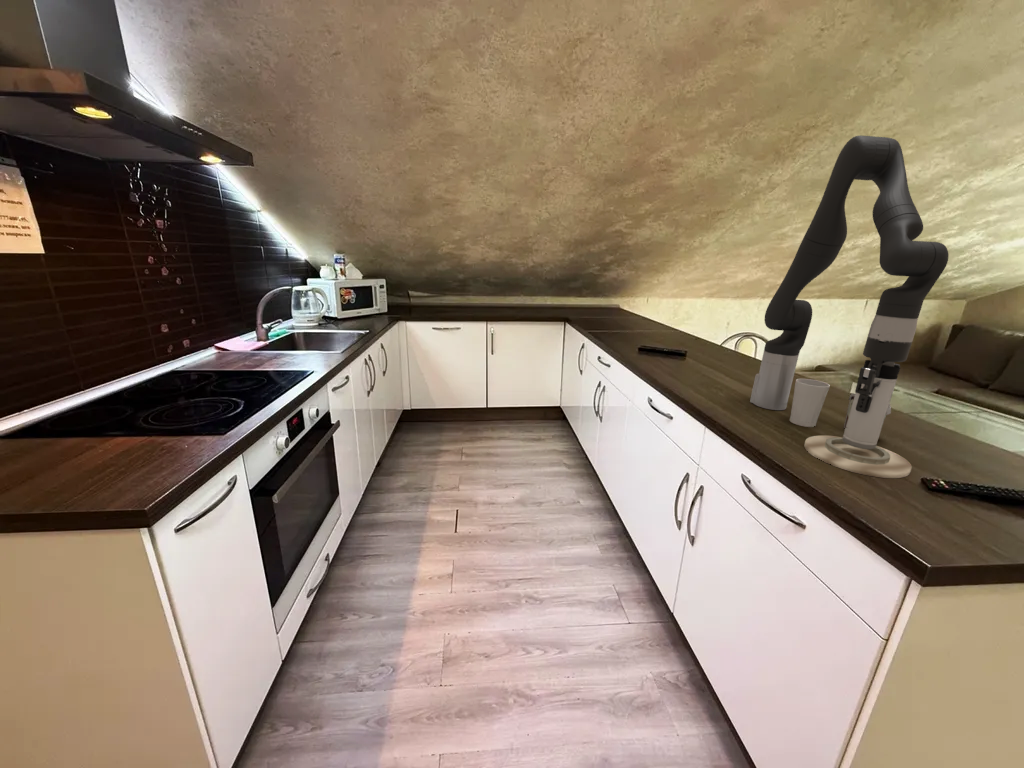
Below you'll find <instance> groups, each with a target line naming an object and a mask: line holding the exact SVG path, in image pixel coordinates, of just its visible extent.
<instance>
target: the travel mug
mask: <svg viewBox="0 0 1024 768" xmlns="http://www.w3.org/2000/svg"><path fill="white" fill-rule="evenodd" d="M870 361H871V359H866V360H865V361H864V364H863V365H864V366H863V367H865V368H868V365H869V363H870ZM900 370H901V366H900V367H893V366H892V367H890V366H885V365H883V366H882V369H881V372H880V375H879V377H877V378H874V382H873V383H877V382H878V381H879V380H881V379H882V382H881V385H880V387H879V388H876V391H875V393H874V396H873V398H872V401H871V404H870V408H869V411H868V412H867V413H863V412H859V411H857V410H856V405H857V402H858V399H859V394H858V393H856V392H855V393H854V394H855V397H854V401H853V404H852V407H851V411H850V414H849V418H848V421H847V425H846V428H845V429H844V433H843V435H842V437H843V438H842V440H843V441H844V442H845V443H846V444H848V445H851V446H853V447H857V448H861V449H874V448H875V447H876V446H878V445H877V444H878V440H879V438H880V435H881V432H882V428H883V425H884V422H885V419H886V417H885V416H887V415H886V413H887V410H888V407H889V403H890V404H891V400H892V396H893V394H894V390H895V387H896V384H897V381H898V377H899V376H898V375H899V374H900ZM865 389H867V386H865Z"/></svg>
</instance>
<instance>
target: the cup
mask: <svg viewBox="0 0 1024 768" xmlns="http://www.w3.org/2000/svg"><path fill="white" fill-rule="evenodd" d="M830 386H831V385H830V384H829V383H827V382H825V381H822V380H817V379H812V378H811V379H810V378H797V379H795V384H794V390H793V396H792V397H793V398H792V403H791V411H790V417H789V421H790V423H792V424H795V425H797V426H801V427H805V428H807V427H808V428H815V427H816V426H817V423H818V420H819V416H820V413H821V411H822V408H823V406H824V403H825V400H826V398H827V395H828V391H829V390H830ZM814 426H815V427H814Z"/></svg>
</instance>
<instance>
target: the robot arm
mask: <svg viewBox="0 0 1024 768" xmlns="http://www.w3.org/2000/svg"><path fill="white" fill-rule="evenodd" d="M904 159H905V158H904V153H903V150H902V146H901V144H900V143H899V141H898V140H897V139H896V138H893V137H885V136H874V135H855V136H853V137H851V138H850V139H849V140H847V142H846V143H845V145H844V146H843V147H842V148H841V151H840V152H839V153H838V156H837V159H836V161H835V163H834V164H833V165H834V166H833V168H832V171H831V174H830V176H829V179H828V181H827V184H826V188H825V190H824V193H823V195H822V197H821V200H820V203H819V205H818V207H817V209H816V211H815V213H814V216H813V218H812V220H811V223H809V226H808V228H807V230H806V231H805V234H804V236H803V238H802V240H801V242H800V245H799V247H798V249H797V251H796V254H795V256H794V257H793V260H792V262H791V264H790V266H789V268H788V270H787V273H786V274H785V276H784V278H783V279H782V282H781V284H780V285H779V287H778V289H777V290H776V291H775V294H774V295H773V296H772V299H771V300H770V302H769V303H768V305H767V308H766V310H765V313H764V324H765V326H766V328H768V329H769V330H771V331H772V330H774V331H782V332H781V334H780V335H778V336H777V337H775V338H773V339H770V340H768V341H766V343H765V345H764V350H763V353H762V358H761V363H760V367H759V372H758V373H756V374H755V377H754V382H753V386H752V389H751V396H750V399H749V400H750V401H749V403H751V404H753V405H755V406H757V407H759V408H763V409H765V410H766V409H767V410H773V411H784V410H786V409H787V406H788V403H789V397H790V392H791V389H792V384H793V382H794V381H793V380H794V378H795V377H794V376H795V374H796V373H795V371H796V369H797V368H796V367H797V365H798V364H797V363H798V359H799V355H800V352H801V350H802V349H803V346H804V345H805V343H806V339H807V336H808V332H809V330H810V325H811V323H812V318H813V309H812V308H813V307H812V305H811V303H810V302H809V301H807V300H804V299H798V297H799V295H800V293H801V292H802V291H803V290H804V289H805V288H806V287H807V285H808V284H809V283H811V282H812V281H814V280H815V279H816V278H817V277H818V276H820V275H821V274H822V273H823V272H825V271H826V270H827V269H828V268H829V267H830V266H831V265H832V264H833V263H834V261H835V260H836V259H837V257H838V255H839V253H840V251H841V249H842V247H843V246H844V244H845V241H846V239H847V236H848V225H847V224H848V223H847V217H846V208H845V207H846V206H845V205H846V200H847V196H848V193H849V191H850V189H851V187H852V185H853V182H854V181H855V180H858V181H859V180H860V181H872V182H873V183H874V184H875V186H877V187H878V190H879V195H878V196H877V198H876V200H875V202H874V204H873V208H872V220H873V224H874V227H875V228H876V231H877V234H878V236H879V238H880V240H879V242H880V243H879V266H880V267H881V269H882V271H883V272H885V273H886V274H888V275H890V276H894V277H895V276H896V277H907V279H906V280H904V283H902V284H901V285H900V286H895V287H890V288H887V289H885V290H883V291H882V293H881V295H880V298H879V302H878V303H877V304H878V305H877V308H876V310H875V311H876V312H875V315H874V318H873V320H872V322H871V325H870V327H869V330H868V334H867V338H866V341H865V345H864V348H863V350H862V351H863V352H862V355H863V356H864V357H865V358H869V360H871V361H870V363H869V365H868V368H865V367H864V366H862V367H860V369H859V373H858V378H857V383H856V385H855V391H854V392H855V394H856V393H858V394H859V399H858V402H857V405H856V410H857V411H859V412H863V413H867V412H868V411H869V408H870V404H871V401H872V398H873V396H874V393H875V391H876V388H879V387H880V385H881V382H882V379H881V380H879V381H878V382H877V383H873V382H874V378H877V377H879V375H880V372H881V369H882V366H883V365H885V366H890V367H892V366H893V367H900V368H901V364H900V363H903V362H906V361H907V360H908V357H909V353H910V350H911V347H912V343H913V341H914V337H915V334H916V331H917V326H918V320H919V316H920V313H921V311H922V307H923V304H924V301H925V299H926V297H927V295H928V294H929V293H930V292H931V290H932V289H933V287H934V285H935V284H936V283H937V281H938V280H939V278H940V277H941V275H942V274H943V272H944V270H945V269H946V267H947V265H948V263H949V262H948V261H949V251H948V248H947V247H946V245H945V244H944V243H942V242H939V241H927V240H926V241H923V240H921V241H920V240H915V239H917V238H918V237H920V235H921V234H922V232H923V230H924V222H923V220H922V217H921V216H920V213H919V211H918V209H917V207H916V205H915V203H914V202H913V199H912V196H911V192H910V190H909V188H910V187H909V183H908V175H907V171H906V166H905V160H904ZM865 386H867V389H865Z"/></svg>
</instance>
